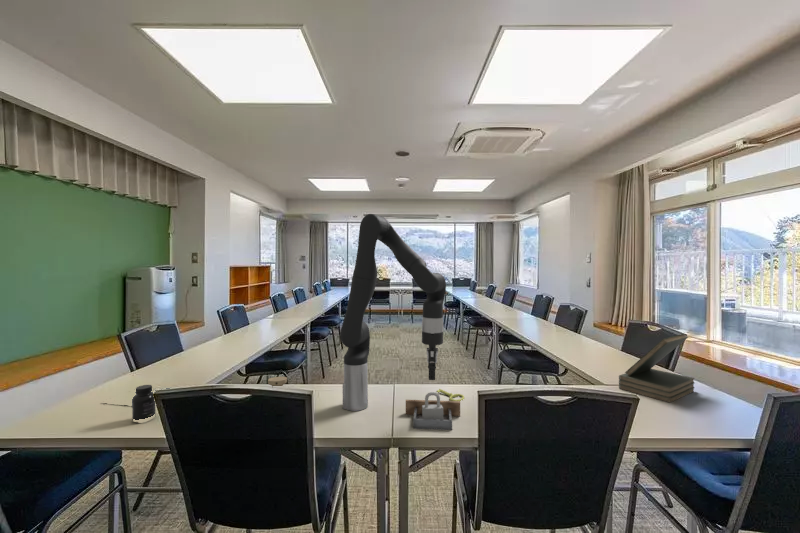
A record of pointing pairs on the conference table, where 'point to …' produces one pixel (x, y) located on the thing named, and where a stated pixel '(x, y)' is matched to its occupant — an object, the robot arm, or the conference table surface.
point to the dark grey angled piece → (657, 374)
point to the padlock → (432, 408)
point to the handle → (277, 381)
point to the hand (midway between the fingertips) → (432, 375)
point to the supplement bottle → (143, 403)
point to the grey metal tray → (432, 422)
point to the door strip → (445, 404)
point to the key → (451, 395)
